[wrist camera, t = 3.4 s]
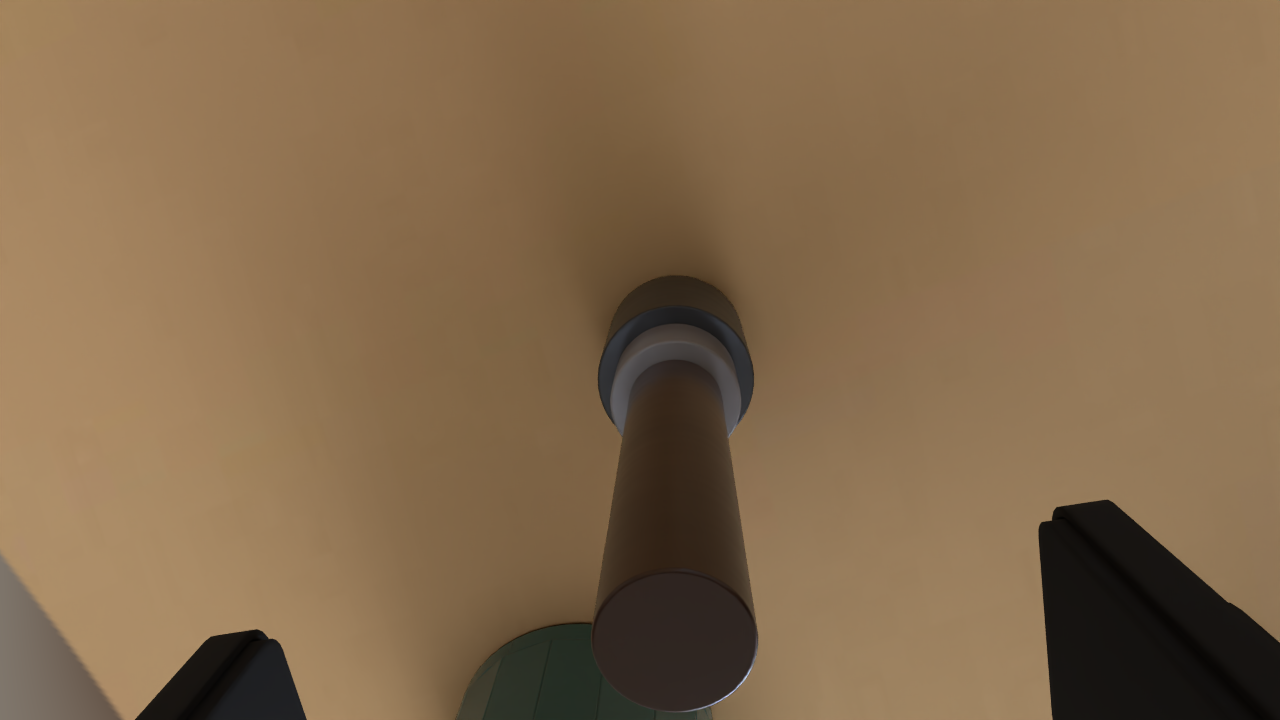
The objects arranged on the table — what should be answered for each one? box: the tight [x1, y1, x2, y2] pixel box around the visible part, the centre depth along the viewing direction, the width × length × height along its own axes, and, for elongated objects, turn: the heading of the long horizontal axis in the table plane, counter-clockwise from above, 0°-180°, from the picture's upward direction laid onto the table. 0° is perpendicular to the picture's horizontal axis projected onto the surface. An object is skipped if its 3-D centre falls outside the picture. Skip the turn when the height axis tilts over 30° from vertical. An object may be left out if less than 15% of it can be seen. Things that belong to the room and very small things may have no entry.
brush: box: [591, 276, 758, 712], centre depth 17 cm, size 4×4×14 cm
